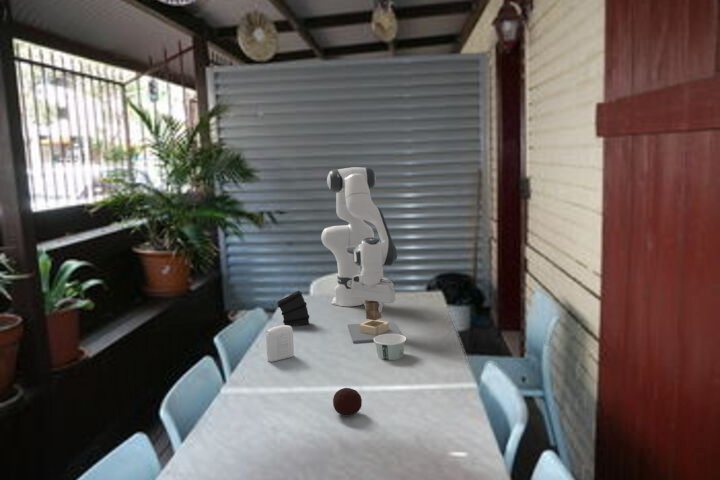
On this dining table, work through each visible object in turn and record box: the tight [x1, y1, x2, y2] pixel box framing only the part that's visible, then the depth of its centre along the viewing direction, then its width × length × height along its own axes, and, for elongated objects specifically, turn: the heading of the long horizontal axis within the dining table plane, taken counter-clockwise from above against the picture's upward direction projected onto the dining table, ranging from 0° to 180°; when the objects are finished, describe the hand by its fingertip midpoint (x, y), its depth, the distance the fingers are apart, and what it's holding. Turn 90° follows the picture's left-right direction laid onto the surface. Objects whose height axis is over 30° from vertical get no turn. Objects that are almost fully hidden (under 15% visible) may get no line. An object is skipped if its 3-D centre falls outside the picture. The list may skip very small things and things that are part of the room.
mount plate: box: [347, 319, 402, 344], centre depth 242 cm, size 22×20×4 cm
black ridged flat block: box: [276, 290, 310, 327], centre depth 258 cm, size 4×13×15 cm, turn 92°
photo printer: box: [265, 324, 295, 362], centre depth 216 cm, size 10×4×12 cm, turn 123°
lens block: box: [365, 300, 383, 320], centre depth 241 cm, size 4×4×7 cm
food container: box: [373, 334, 407, 361], centre depth 214 cm, size 12×12×6 cm
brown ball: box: [332, 387, 363, 417], centre depth 168 cm, size 8×9×8 cm
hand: (373, 310), depth 241 cm, fingers closed on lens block, 4 cm apart
